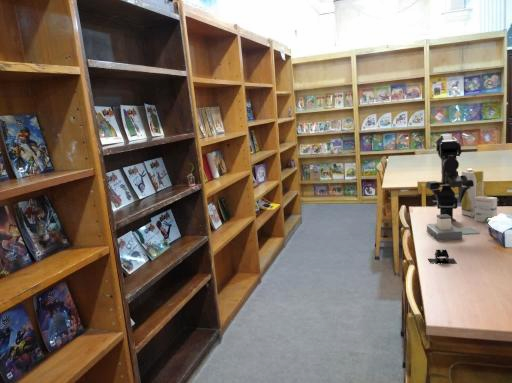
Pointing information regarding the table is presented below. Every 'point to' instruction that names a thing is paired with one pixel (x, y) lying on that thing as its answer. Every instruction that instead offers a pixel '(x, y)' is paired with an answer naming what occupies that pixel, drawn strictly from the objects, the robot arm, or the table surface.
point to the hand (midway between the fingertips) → (449, 202)
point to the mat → (468, 231)
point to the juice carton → (472, 191)
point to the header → (444, 232)
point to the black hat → (442, 260)
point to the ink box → (485, 208)
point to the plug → (443, 222)
